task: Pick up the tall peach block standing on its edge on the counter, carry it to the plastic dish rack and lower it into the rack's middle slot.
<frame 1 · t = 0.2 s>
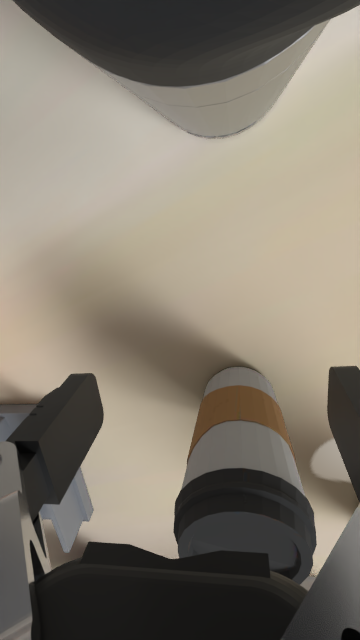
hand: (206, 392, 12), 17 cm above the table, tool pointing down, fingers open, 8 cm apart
coffee cup: (238, 391, 32), on the table
rack: (11, 459, 40), on the table
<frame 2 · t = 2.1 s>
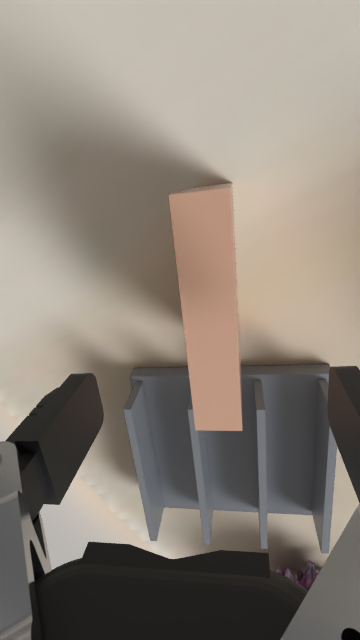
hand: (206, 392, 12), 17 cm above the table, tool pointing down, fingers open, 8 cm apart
flower: (302, 569, 39), on the table
rack: (231, 438, 33), on the table
tall peach block: (220, 266, 27), on the table
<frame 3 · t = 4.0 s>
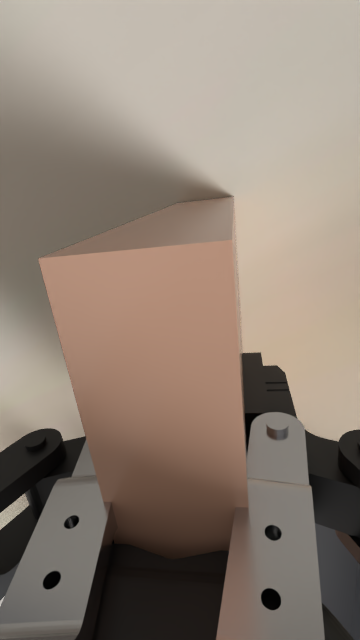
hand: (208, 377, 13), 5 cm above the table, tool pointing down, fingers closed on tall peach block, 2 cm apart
rack: (233, 552, 23), on the table
tall peach block: (215, 324, 17), on the table, touching gripper
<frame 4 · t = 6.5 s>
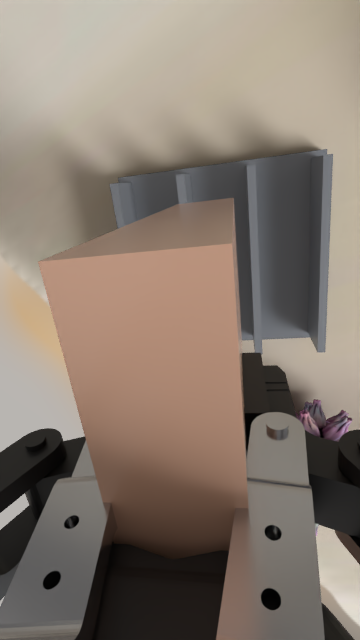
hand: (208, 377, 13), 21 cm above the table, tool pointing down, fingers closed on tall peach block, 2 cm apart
flower: (300, 420, 38), on the table
rack: (224, 257, 32), on the table
tall peach block: (215, 325, 17), point 16 cm above the table, touching gripper
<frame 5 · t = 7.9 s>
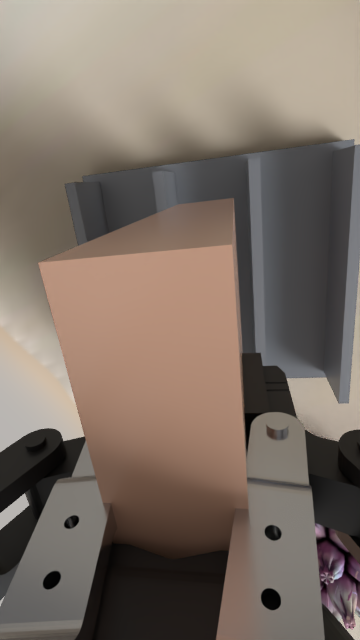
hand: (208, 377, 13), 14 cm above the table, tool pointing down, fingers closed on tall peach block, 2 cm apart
flower: (310, 470, 32), on the table
rack: (219, 276, 26), on the table
tall peach block: (215, 325, 17), point 9 cm above the table, touching gripper
when the fingers open (8 cm above the table, at t = 9.3 s): tall peach block drops 1 cm, resting on rack.
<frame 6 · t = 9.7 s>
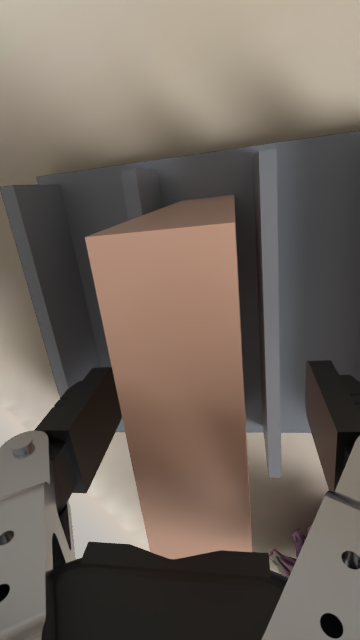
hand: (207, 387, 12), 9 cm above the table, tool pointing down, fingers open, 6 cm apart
flower: (330, 534, 26), on the table
rack: (217, 304, 20), on the table
tall peach block: (217, 313, 19), point 1 cm above the table, touching rack
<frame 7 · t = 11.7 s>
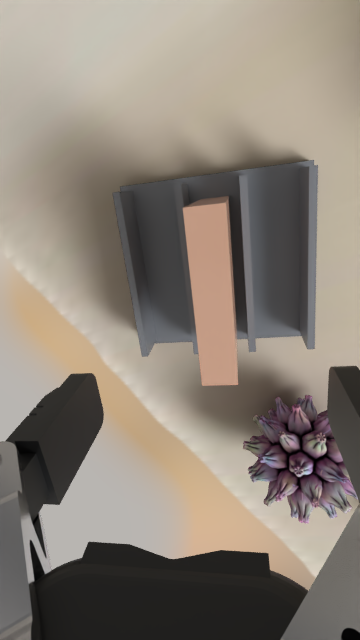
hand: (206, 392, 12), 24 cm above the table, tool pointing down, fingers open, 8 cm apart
flower: (293, 416, 40), on the table
rack: (220, 260, 34), on the table
tall peach block: (219, 263, 33), point 1 cm above the table, touching rack
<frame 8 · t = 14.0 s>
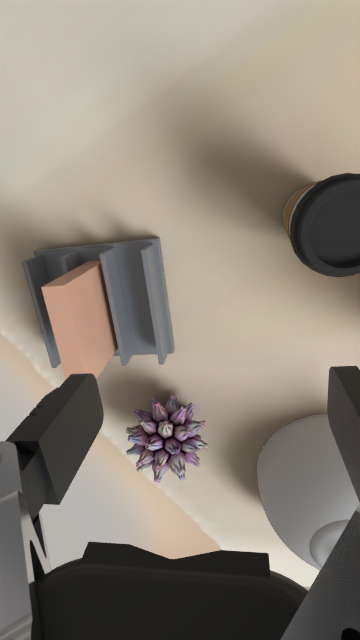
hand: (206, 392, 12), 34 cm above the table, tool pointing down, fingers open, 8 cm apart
kettle: (333, 466, 54), on the table
flower: (174, 410, 54), on the table
coffee cup: (309, 213, 41), on the table
rack: (109, 300, 49), on the table
tall peach block: (105, 303, 47), point 1 cm above the table, touching rack
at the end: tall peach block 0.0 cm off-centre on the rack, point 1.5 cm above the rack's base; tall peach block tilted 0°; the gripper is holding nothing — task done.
